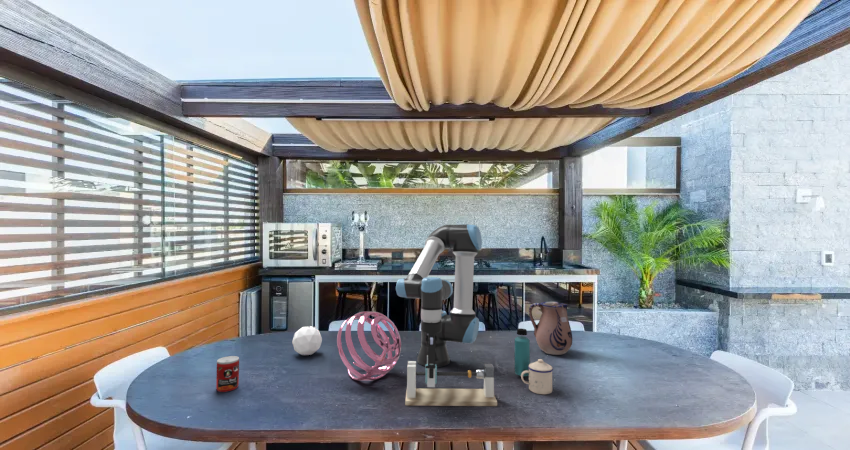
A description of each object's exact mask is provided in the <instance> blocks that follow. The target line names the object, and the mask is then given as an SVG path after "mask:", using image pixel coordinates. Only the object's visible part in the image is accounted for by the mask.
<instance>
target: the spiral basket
mask: <svg viewBox="0 0 850 450" xmlns="http://www.w3.org/2000/svg"><path fill="white" fill-rule="evenodd" d="M370 316H371V317H374V318H373V319H372V318H370ZM355 320H358V323H357V326H356V329H357V337H358V338H357V339H358V340H359V344H360V345H361V348H362V349H363V352H364V353H365V354H366V355H367V356H368V357H369V358H370V360H373V361H374V362H375V364H374V365H373V366H370V365H368V364H367V363H366V362H365V361H364V360H363V359H362V358H361V357H360V355H359V354H358V352H357V350H356V349H355V346H354V344H353V340H352V339H353V338H352V325H353V323H354V321H355ZM365 322H366V323H368V324H369V325H370V331H371V332H370V333H371V336H372V338H373V340H374V342H375V344H376V345H378V346H379V347H380V348H381V349H382V353H381V354H380V355H379V354H377V353H376V352H375V351H374V350H373V349H372V348H371V346H370V345H369V343H368V341H367V338H366V335H365V329H364V328H365ZM380 322H381V323H382V324H383V325H384V326H385V327H386V329H387V330H388V332H389V334H390V336H391V338H392V341H393V343H392V344H391V342H390V337H388V335H387V334H386V332H385V330H384V329H383V328H382V326H381V325H380V324H379V323H380ZM346 323H347V324H346ZM345 325H346V327H345ZM391 326H392V327H391ZM344 327H345V333H344V335H345V344H346V346H347V350H348V351H349V354H350V356H351V358H352V359H353V361H354V362H352V364H353V365H354V366H355V367H358V368H360V369H362V370H364V371H365V372H366V373H365V374H363V373H360V372H359V371H358V370H356V368H354V366H352V365H351V363H350V361H349V360H348V359H347V357H346V355H345V353H344V350H343V346H342V345H343V344H342V333H343V328H344ZM393 329H394V330H393ZM401 340H402V339H401V335H400V333H399V330H398V328H397V326H396V325H395V323H394V322H393V321H392V320H391V319H390V318H389V317H387V316H386V315H384V314H383V313H381V312H378V311H360V312H357V313H355V314H354V315H352V316H349V317H347V319H345V320H344V321H343V322H342V323H341V324H340V327H339V329H338V331H337V337H336V344H337V345H336V347H337V350H338V354H339V356H340V357H339V358H340V360H341V361H342V363H343V365H344V366H345V367H346V370H347V373H348V375H349V377H350V378H351V379H353V380H354V381H371V382H373V381H377V380H379V379H381V378H383V377H384V376H386V374H388V373H389V372H390V371H392V370H393V368H395V366H396V364H397V362H398V360H399V358H400V355H401V353H402V352H401V351H402V341H401ZM394 351H395V355H394V356H393V352H394ZM386 354H387V357H386ZM374 376H375V377H374Z"/></svg>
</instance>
